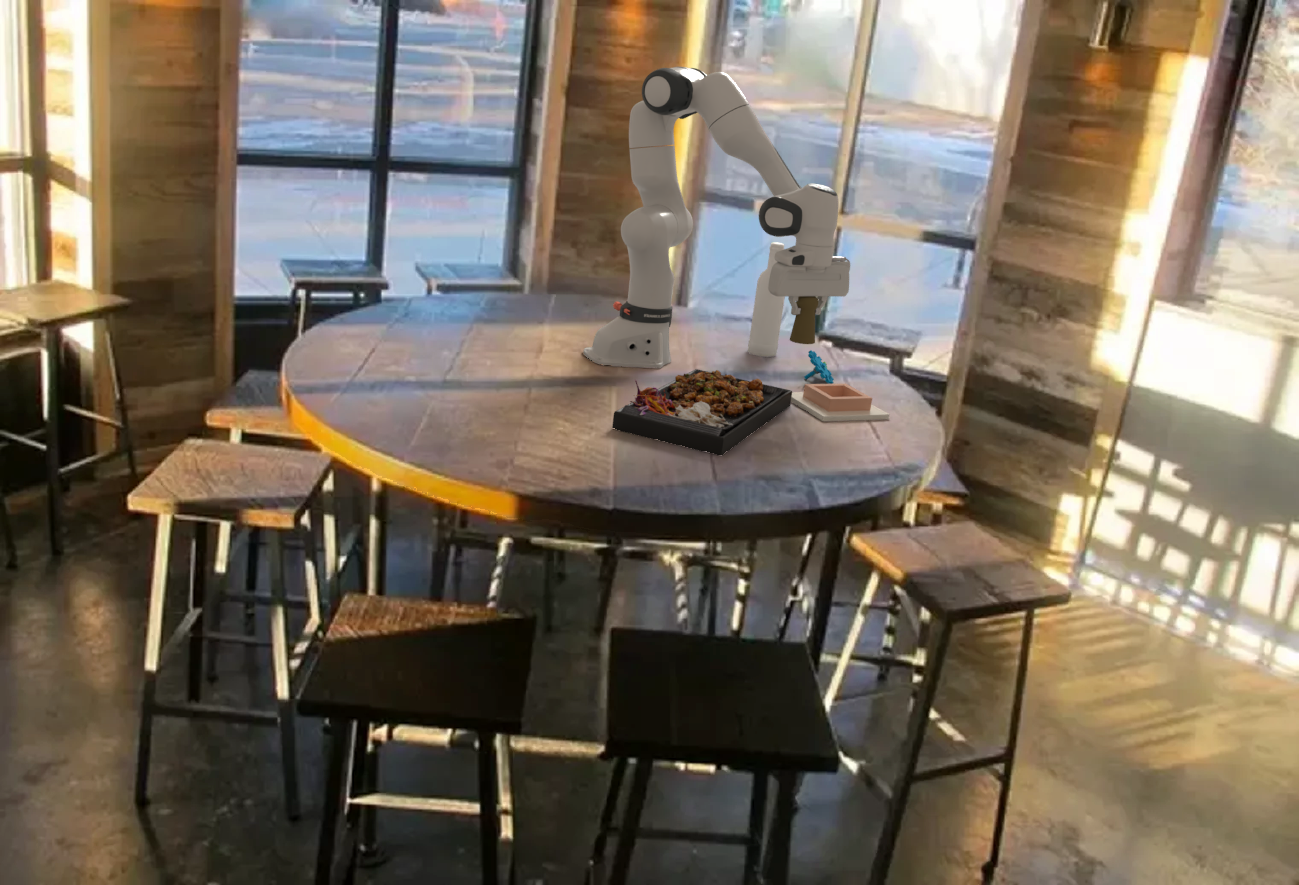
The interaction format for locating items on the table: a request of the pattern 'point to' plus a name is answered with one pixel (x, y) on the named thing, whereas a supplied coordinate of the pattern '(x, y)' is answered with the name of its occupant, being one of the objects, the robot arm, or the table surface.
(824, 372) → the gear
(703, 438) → the food platter
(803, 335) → the cork
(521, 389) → the table surface
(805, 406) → the holder
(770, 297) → the bottle
